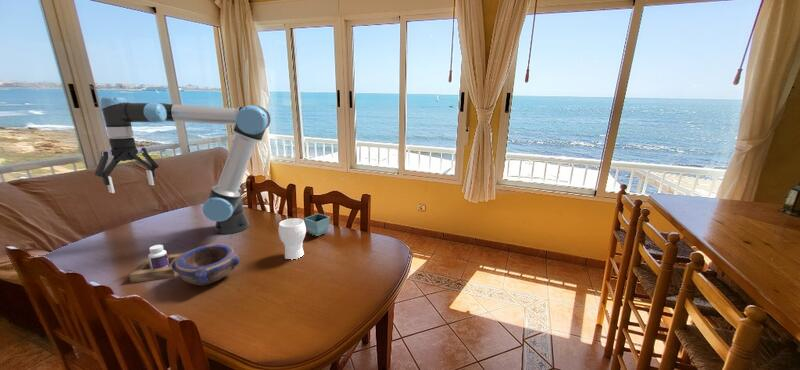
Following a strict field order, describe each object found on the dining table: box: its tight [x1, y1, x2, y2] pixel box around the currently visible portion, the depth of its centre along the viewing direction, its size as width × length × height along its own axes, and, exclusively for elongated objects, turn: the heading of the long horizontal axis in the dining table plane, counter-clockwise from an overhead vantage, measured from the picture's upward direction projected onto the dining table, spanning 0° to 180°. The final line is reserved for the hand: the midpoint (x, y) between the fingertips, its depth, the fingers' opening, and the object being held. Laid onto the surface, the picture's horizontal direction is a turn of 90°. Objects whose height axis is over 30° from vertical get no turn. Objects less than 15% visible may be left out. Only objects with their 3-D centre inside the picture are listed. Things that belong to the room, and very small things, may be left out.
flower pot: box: [303, 213, 331, 237], centre depth 145 cm, size 9×9×9 cm
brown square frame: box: [128, 252, 186, 284], centre depth 112 cm, size 13×13×3 cm
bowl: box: [172, 243, 241, 286], centre depth 107 cm, size 18×18×10 cm
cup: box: [277, 217, 307, 261], centre depth 123 cm, size 11×11×15 cm
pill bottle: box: [147, 244, 169, 269], centre depth 112 cm, size 5×5×10 cm
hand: (132, 188), depth 124 cm, fingers open, 13 cm apart
